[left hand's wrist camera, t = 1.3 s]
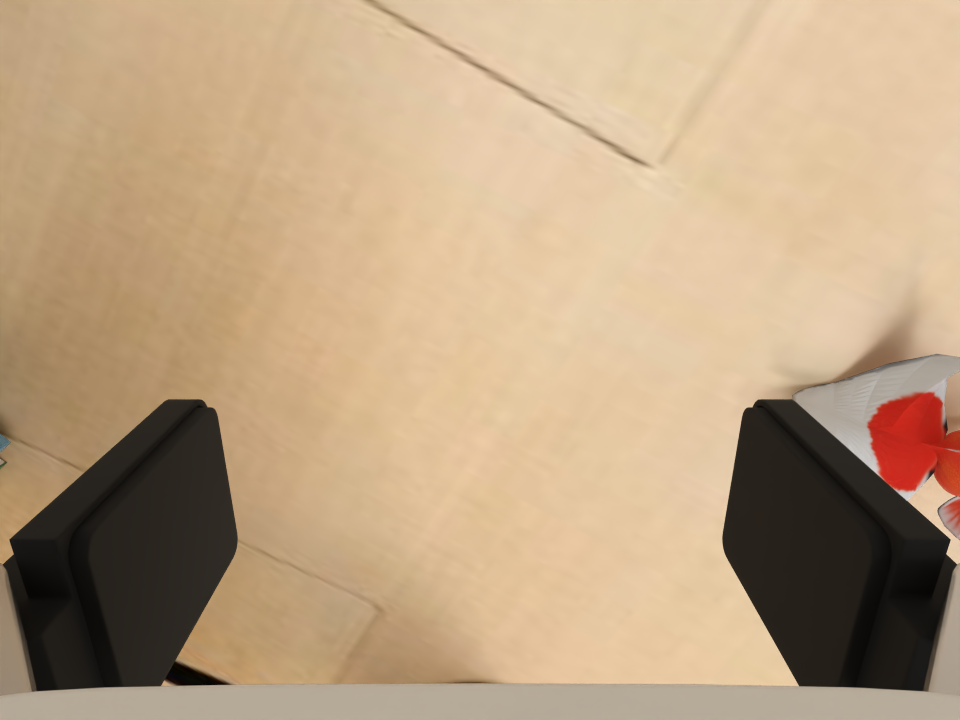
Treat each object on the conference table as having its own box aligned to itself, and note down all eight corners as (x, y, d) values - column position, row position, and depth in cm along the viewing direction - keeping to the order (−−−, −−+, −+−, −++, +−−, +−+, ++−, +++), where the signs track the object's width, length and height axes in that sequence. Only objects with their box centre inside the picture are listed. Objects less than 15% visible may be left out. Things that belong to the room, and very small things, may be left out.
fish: (940, 595, 41) (1052, 633, 32) (736, 445, 45) (780, 438, 35) (1036, 466, 42) (1175, 465, 32) (826, 328, 45) (894, 289, 36)
